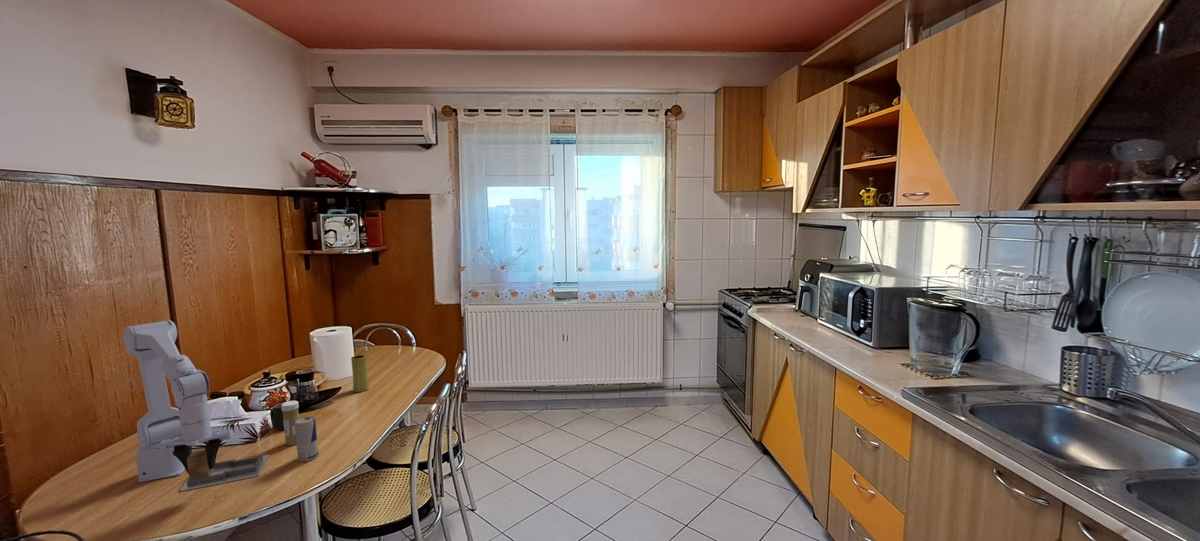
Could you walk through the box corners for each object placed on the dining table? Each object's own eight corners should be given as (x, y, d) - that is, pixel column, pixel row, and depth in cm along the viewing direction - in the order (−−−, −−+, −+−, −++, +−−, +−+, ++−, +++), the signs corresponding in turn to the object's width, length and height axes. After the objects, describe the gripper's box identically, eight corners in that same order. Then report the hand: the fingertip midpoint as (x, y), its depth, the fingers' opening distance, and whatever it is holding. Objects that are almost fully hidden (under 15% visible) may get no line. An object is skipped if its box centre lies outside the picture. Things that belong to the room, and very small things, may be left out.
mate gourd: (270, 426, 164) (268, 398, 163) (296, 420, 169) (293, 393, 168) (273, 433, 159) (271, 405, 158) (299, 426, 164) (297, 399, 163)
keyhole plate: (180, 491, 126) (179, 485, 126) (197, 469, 137) (196, 463, 137) (258, 476, 133) (258, 470, 133) (269, 456, 144) (268, 450, 144)
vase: (354, 388, 199) (351, 355, 198) (370, 386, 201) (367, 353, 199) (351, 393, 194) (348, 359, 192) (367, 391, 196) (365, 358, 194)
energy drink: (322, 452, 146) (318, 415, 144) (312, 461, 140) (308, 423, 139) (304, 453, 146) (300, 416, 144) (294, 462, 140) (290, 424, 139)
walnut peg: (189, 480, 121) (186, 459, 120) (195, 473, 125) (192, 451, 124) (208, 477, 123) (206, 455, 122) (214, 469, 126) (211, 448, 126)
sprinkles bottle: (302, 443, 152) (298, 403, 150) (285, 447, 149) (281, 406, 148) (301, 437, 156) (297, 398, 154) (285, 441, 153) (281, 402, 152)
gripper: (151, 432, 115) (158, 483, 117) (224, 420, 121) (230, 470, 123) (164, 420, 122) (171, 469, 123) (233, 410, 127) (238, 457, 129)
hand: (201, 469), depth 124 cm, fingers closed on walnut peg, 4 cm apart
